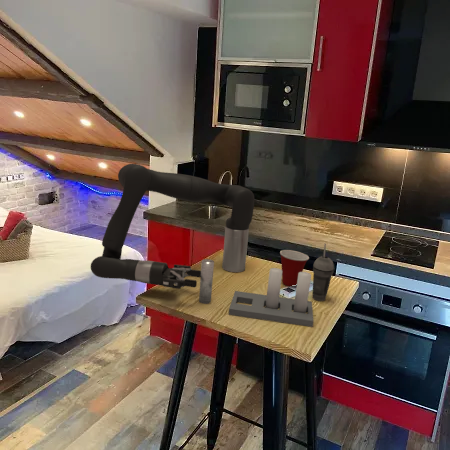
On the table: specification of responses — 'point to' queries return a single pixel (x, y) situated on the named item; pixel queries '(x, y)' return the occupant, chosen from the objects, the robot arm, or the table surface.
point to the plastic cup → (292, 266)
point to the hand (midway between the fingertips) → (199, 279)
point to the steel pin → (206, 281)
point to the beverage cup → (322, 276)
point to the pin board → (276, 302)
